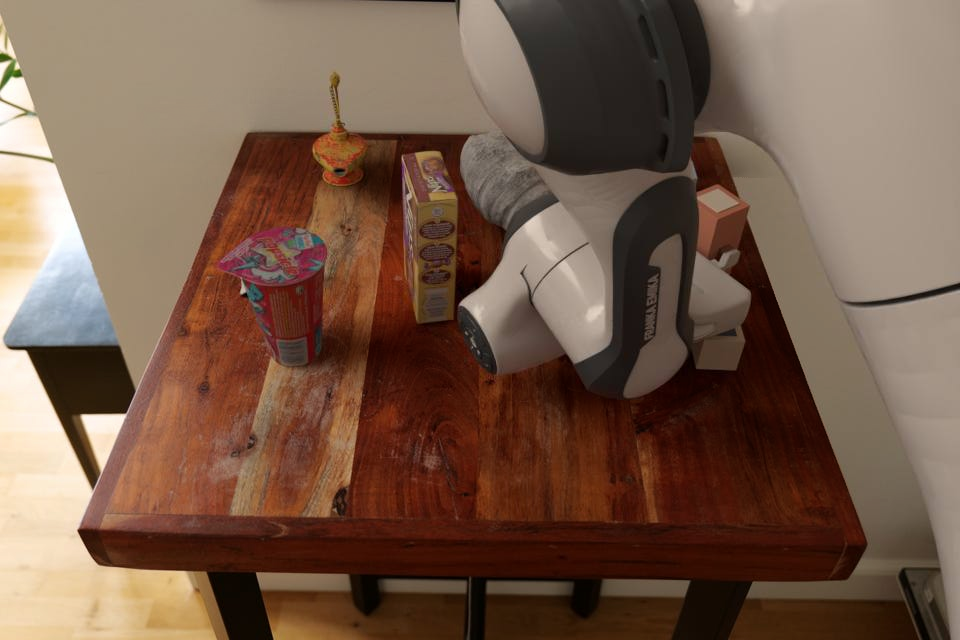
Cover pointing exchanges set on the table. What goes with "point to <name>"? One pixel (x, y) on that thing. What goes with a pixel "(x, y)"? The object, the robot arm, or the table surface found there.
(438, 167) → the candy box
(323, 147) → the magic lamp
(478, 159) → the seashell
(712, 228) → the tall block
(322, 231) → the table surface
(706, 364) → the block
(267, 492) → the table surface
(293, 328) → the cup
